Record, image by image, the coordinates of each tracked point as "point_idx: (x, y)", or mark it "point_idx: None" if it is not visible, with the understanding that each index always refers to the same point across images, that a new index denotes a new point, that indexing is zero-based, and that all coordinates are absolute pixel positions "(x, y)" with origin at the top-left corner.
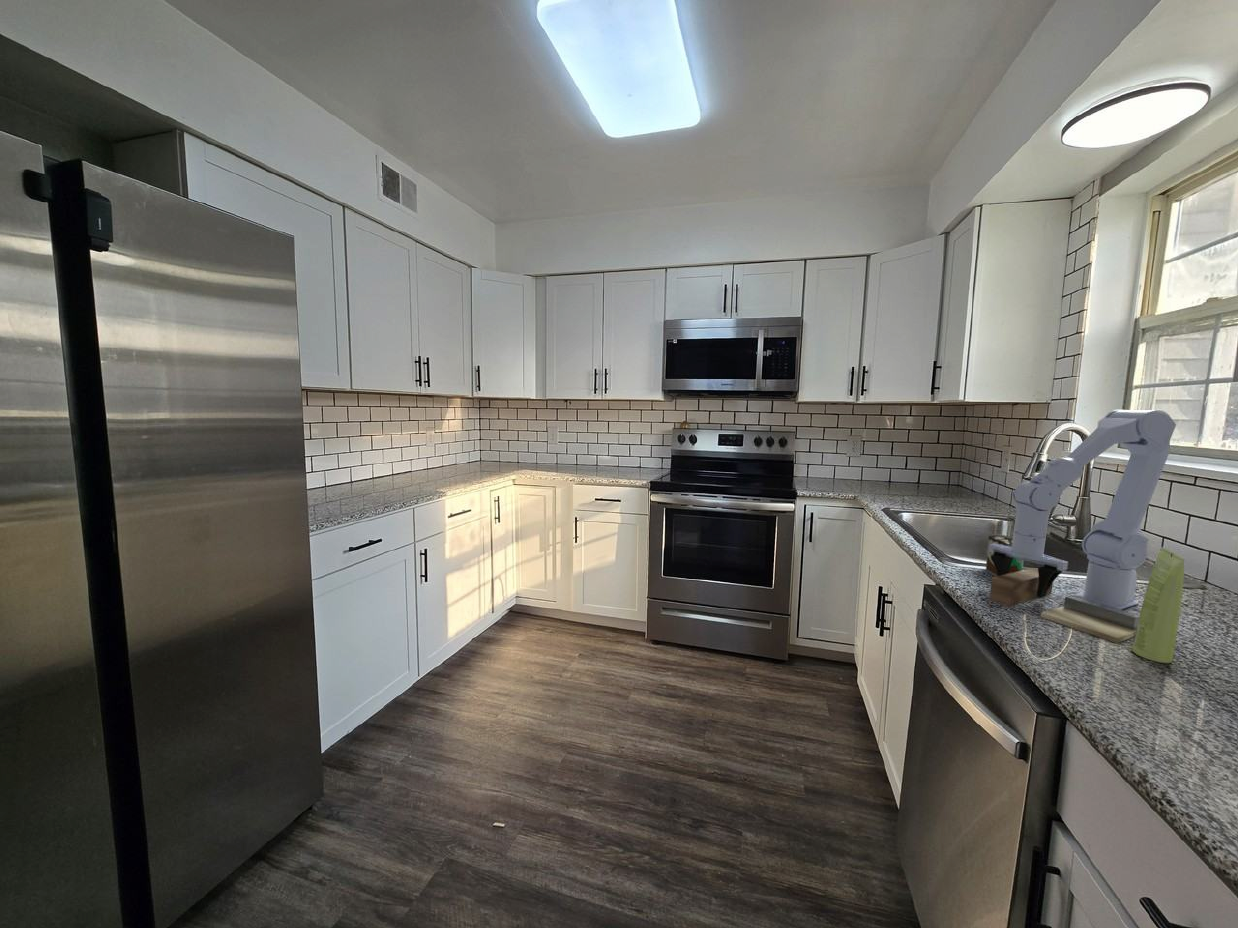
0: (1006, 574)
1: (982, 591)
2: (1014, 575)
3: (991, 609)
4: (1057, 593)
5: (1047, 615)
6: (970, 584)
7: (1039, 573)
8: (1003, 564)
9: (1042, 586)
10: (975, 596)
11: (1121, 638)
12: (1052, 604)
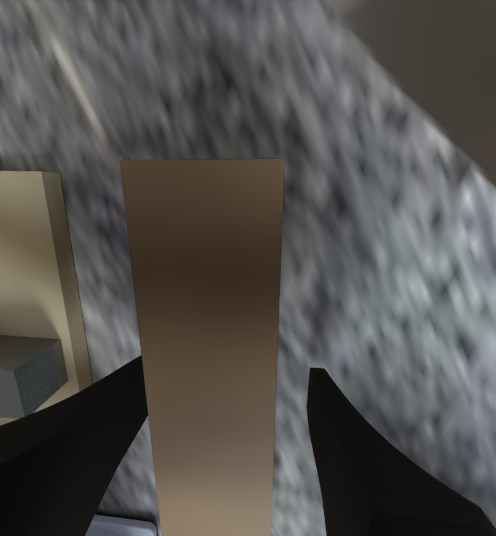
0: (271, 369)
1: (356, 268)
2: (234, 398)
3: (192, 9)
4: None
5: (23, 172)
6: (439, 319)
7: (29, 441)
8: (344, 490)
9: (94, 386)
10: (339, 144)
11: None
12: None
